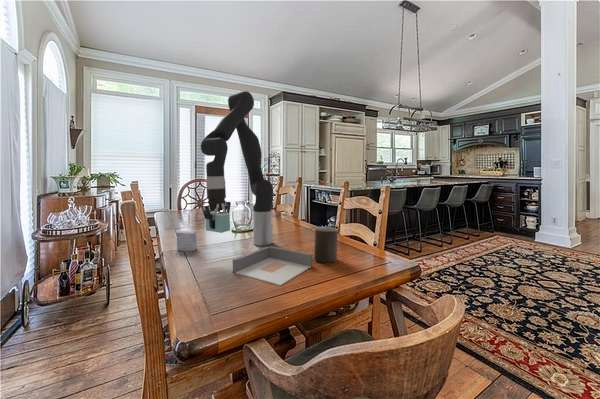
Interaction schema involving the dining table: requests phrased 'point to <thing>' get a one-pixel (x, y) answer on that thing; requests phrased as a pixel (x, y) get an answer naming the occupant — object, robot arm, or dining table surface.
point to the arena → (272, 264)
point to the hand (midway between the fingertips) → (217, 227)
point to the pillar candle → (325, 244)
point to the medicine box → (186, 241)
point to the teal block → (220, 223)
